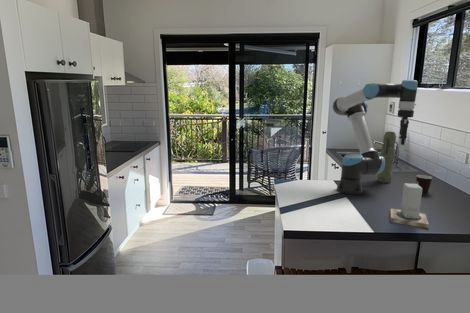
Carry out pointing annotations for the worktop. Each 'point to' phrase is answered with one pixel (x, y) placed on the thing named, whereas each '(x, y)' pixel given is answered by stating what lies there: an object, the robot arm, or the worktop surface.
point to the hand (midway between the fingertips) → (400, 148)
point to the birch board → (408, 219)
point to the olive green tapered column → (387, 157)
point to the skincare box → (411, 200)
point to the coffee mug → (424, 182)
